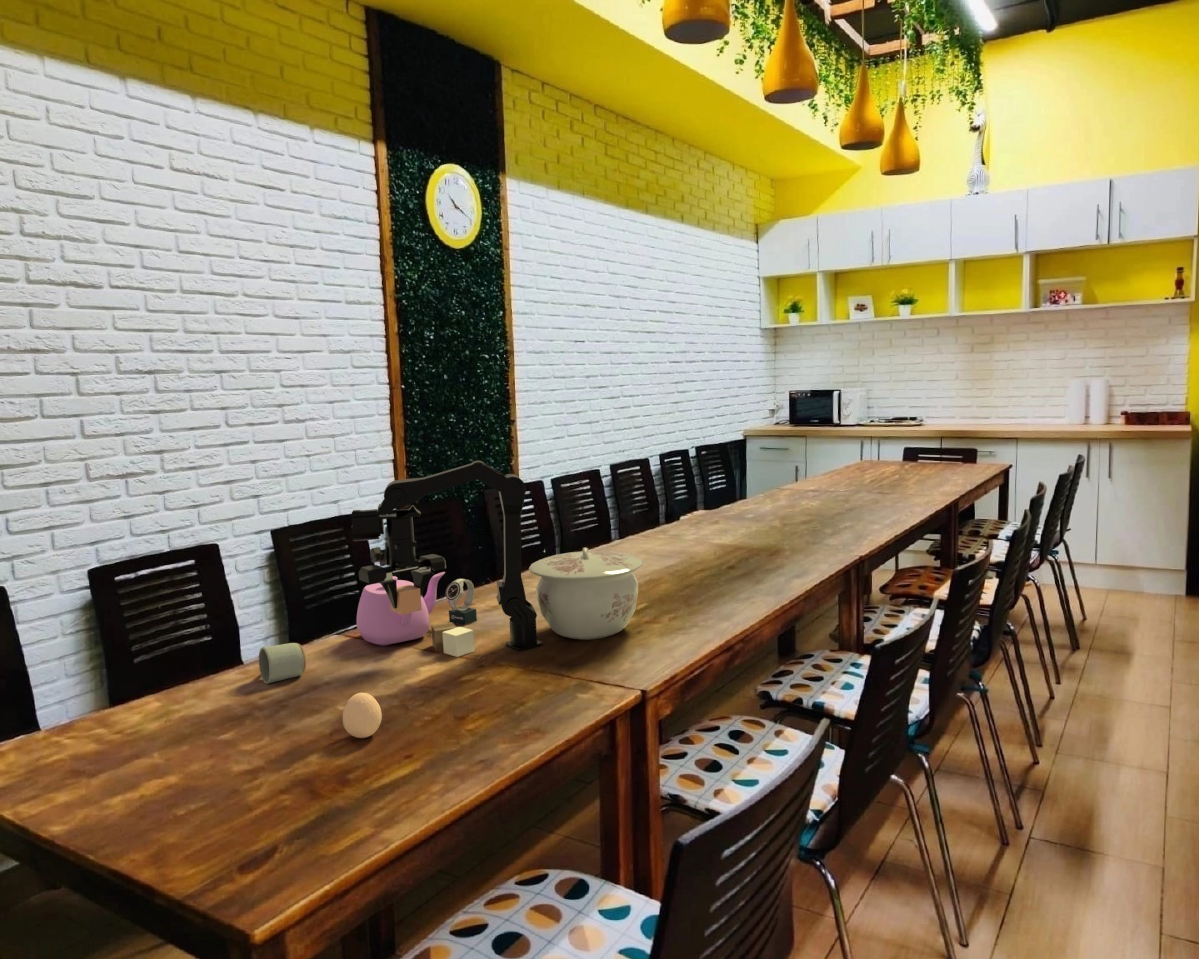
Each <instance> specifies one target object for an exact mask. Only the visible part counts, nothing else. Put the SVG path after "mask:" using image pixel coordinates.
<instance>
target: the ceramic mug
mask: <svg viewBox="0 0 1199 959" xmlns="http://www.w3.org/2000/svg"><path fill="white" fill-rule="evenodd" d="M258 652H259V653H258V667H259V672H260V676H261V679H262V681H263V683H265V684H267V685H268V684H272V683H276V682H280V681H283V680H286V679H293V678H296V677H299V676H301V675H302V674H304V672H305V671H306V668H307V659H306V658H307V657H306V652H305V650H304V648H303V646H302V645H301V644H300V643H298V642H289V643H283V644H275V645H269V646H262V647H261V648H260V650H259V651H258Z"/></svg>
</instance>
